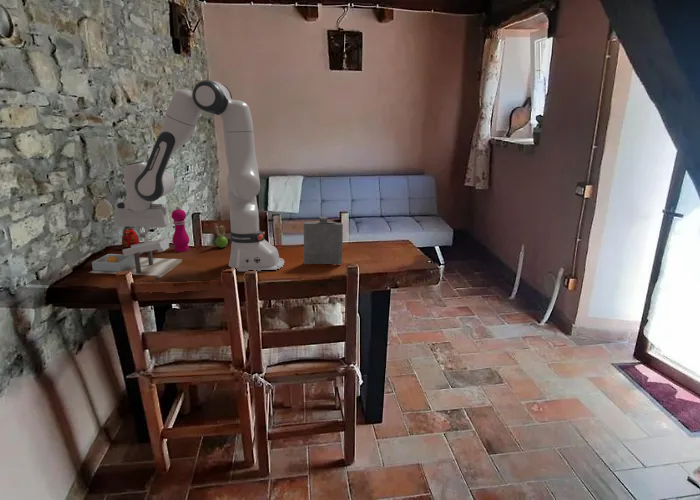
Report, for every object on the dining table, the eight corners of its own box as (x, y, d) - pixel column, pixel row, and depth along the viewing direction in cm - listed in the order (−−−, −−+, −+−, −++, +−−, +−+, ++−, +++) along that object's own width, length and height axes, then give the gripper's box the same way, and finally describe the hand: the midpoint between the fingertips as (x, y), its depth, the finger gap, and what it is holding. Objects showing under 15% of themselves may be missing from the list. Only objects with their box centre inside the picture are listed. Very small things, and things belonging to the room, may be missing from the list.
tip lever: (181, 239, 182) (178, 231, 181) (161, 252, 166) (158, 242, 165) (146, 247, 184) (143, 238, 183) (123, 259, 167) (120, 250, 166)
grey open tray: (135, 263, 177) (134, 255, 176) (120, 272, 167) (119, 263, 166) (109, 262, 178) (108, 254, 177) (93, 271, 168) (91, 262, 167)
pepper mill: (184, 252, 196) (180, 208, 190) (169, 251, 197) (165, 207, 192) (193, 248, 203) (190, 205, 197) (179, 247, 204) (175, 204, 198)
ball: (108, 260, 174) (117, 266, 175) (102, 264, 170) (112, 269, 171) (112, 252, 173) (121, 257, 173) (106, 255, 169) (116, 261, 170)
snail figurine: (212, 248, 203) (210, 223, 200) (220, 245, 209) (219, 220, 205) (221, 250, 201) (220, 224, 198) (230, 246, 207) (229, 221, 204)
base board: (182, 261, 184) (180, 241, 182) (159, 278, 165) (157, 256, 163) (118, 258, 186) (116, 239, 183) (89, 275, 166) (85, 253, 164)
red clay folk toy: (118, 249, 198) (114, 216, 193) (132, 246, 204) (129, 214, 200) (130, 252, 194) (126, 219, 190) (144, 248, 200) (140, 216, 196)
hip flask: (303, 264, 184) (303, 217, 179) (304, 261, 188) (304, 215, 183) (341, 265, 185) (343, 218, 179) (342, 262, 188) (343, 216, 183)
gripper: (169, 202, 178) (172, 236, 182) (119, 201, 179) (123, 234, 183) (161, 205, 172) (165, 240, 176) (110, 204, 173) (115, 238, 177)
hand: (143, 237), depth 179 cm, fingers closed
